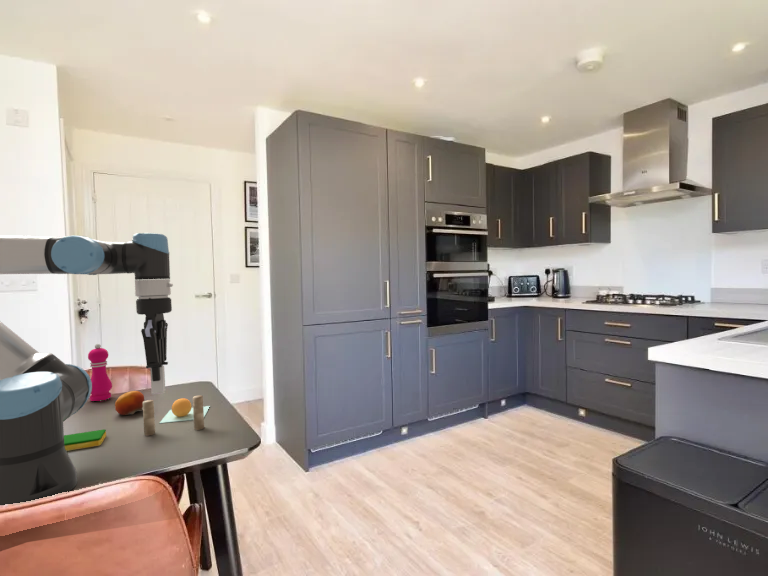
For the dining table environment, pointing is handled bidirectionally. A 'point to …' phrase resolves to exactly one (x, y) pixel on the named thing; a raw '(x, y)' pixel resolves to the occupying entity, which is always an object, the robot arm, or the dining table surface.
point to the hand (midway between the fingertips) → (158, 392)
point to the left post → (148, 417)
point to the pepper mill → (99, 374)
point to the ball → (181, 407)
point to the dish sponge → (84, 439)
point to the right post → (198, 412)
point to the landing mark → (172, 418)
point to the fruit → (129, 403)
